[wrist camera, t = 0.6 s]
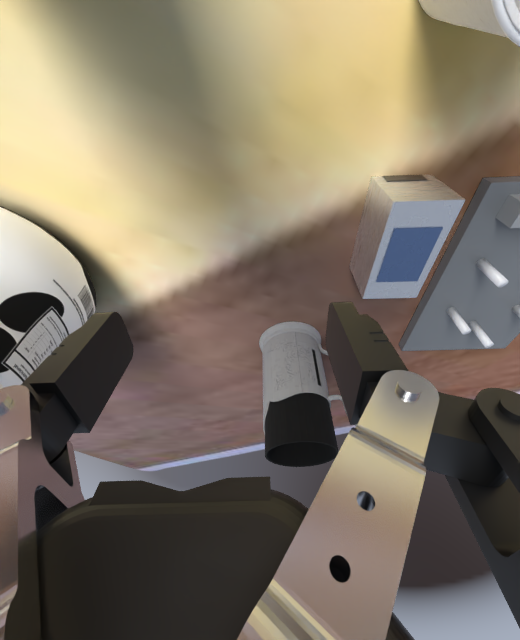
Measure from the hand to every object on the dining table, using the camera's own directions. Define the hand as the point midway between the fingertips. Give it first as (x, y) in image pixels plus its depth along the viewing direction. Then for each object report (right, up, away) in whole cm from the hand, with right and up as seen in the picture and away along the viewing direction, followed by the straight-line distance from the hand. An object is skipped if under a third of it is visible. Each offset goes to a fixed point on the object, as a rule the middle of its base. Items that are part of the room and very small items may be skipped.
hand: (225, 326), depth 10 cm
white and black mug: (+8, -2, +27) cm, 28 cm away
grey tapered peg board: (+28, +5, +20) cm, 34 cm away
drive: (+13, +9, +15) cm, 23 cm away
